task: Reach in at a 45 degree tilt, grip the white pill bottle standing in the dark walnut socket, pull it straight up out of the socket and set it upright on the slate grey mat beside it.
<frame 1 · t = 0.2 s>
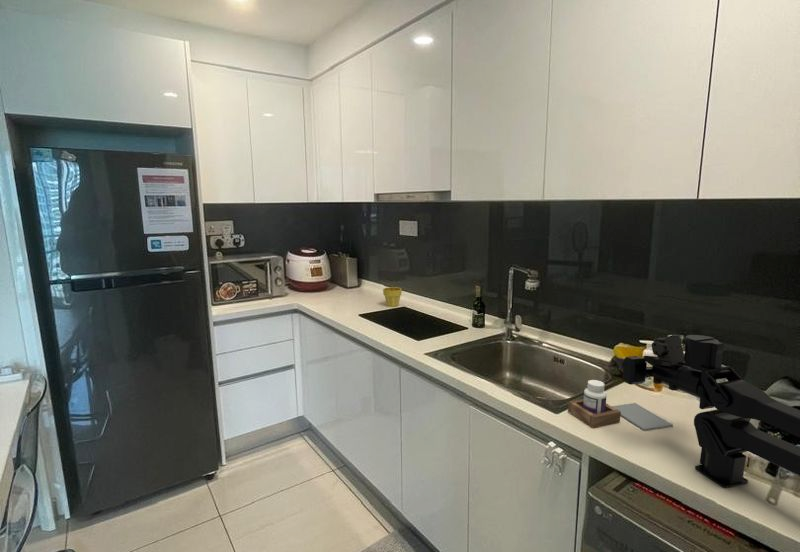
hand: (630, 358, 106), 16 cm above the worktop, tool horizontal, fingers open, 9 cm apart
pill bottle: (593, 417, 108), resting in walnut socket
plant pot: (392, 305, 229), on the worktop
walnut socket: (593, 416, 108), on the worktop
grey mat: (639, 416, 108), on the worktop
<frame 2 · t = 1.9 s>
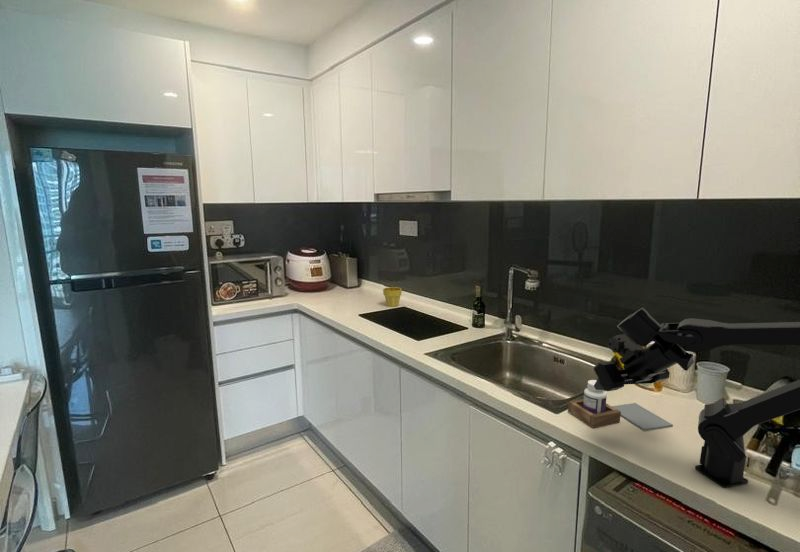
hand: (609, 385, 102), 11 cm above the worktop, tool tilted 45°, fingers open, 9 cm apart
nothing on the worktop moved.
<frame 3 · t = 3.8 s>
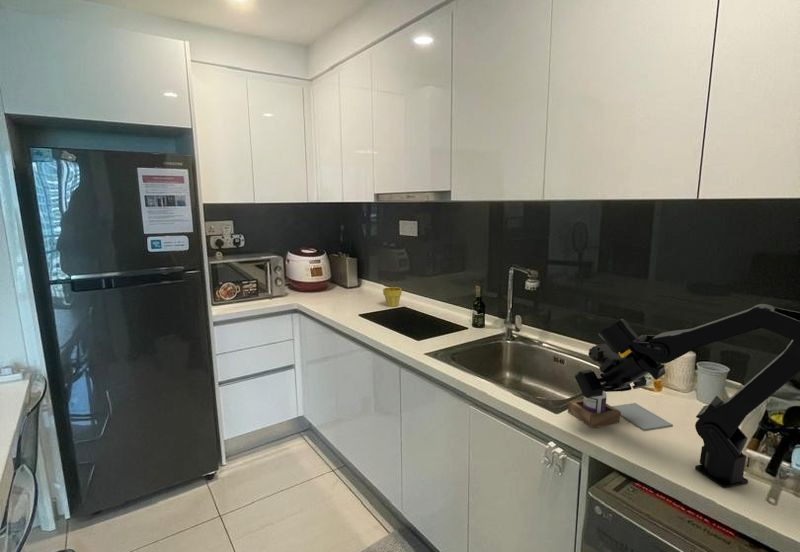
hand: (591, 391, 108), 7 cm above the worktop, tool tilted 45°, fingers closed on pill bottle, 5 cm apart
pill bottle: (593, 417, 108), resting in walnut socket, touching gripper
everything else where it was.
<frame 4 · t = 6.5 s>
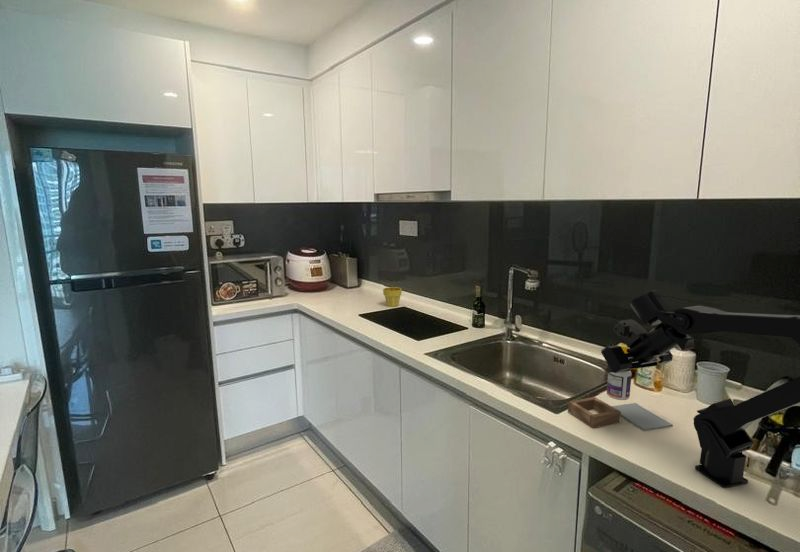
hand: (615, 369, 107), 13 cm above the worktop, tool tilted 45°, fingers closed on pill bottle, 5 cm apart
pill bottle: (617, 396, 107), point 6 cm above the worktop, touching gripper
everything else where it was.
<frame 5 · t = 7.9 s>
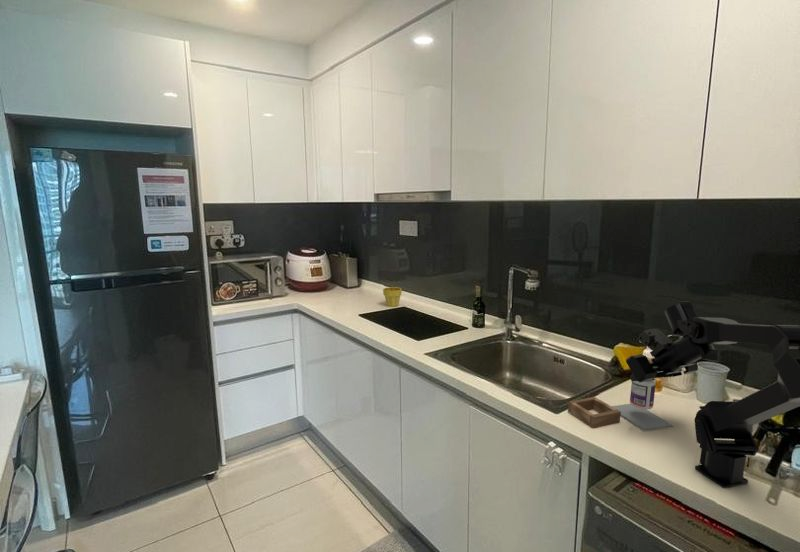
hand: (639, 377, 107), 11 cm above the worktop, tool tilted 45°, fingers closed on pill bottle, 5 cm apart
pill bottle: (641, 405, 107), point 3 cm above the worktop, touching gripper
everything else where it was.
when the fingers open (8 cm above the worktop, at t = 9.2 s): pill bottle stays where it is, resting on grey mat.
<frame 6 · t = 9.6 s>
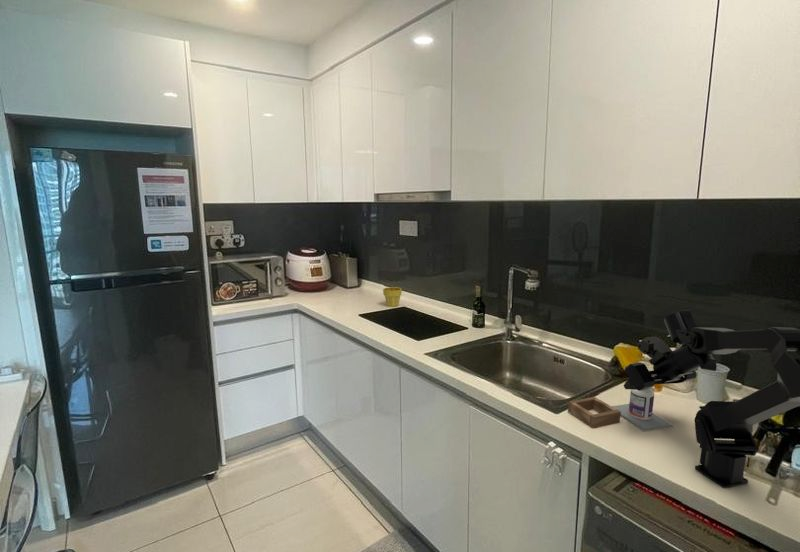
hand: (637, 384, 108), 9 cm above the worktop, tool tilted 45°, fingers open, 9 cm apart
pill bottle: (639, 416, 108), resting on grey mat
everything else where it was.
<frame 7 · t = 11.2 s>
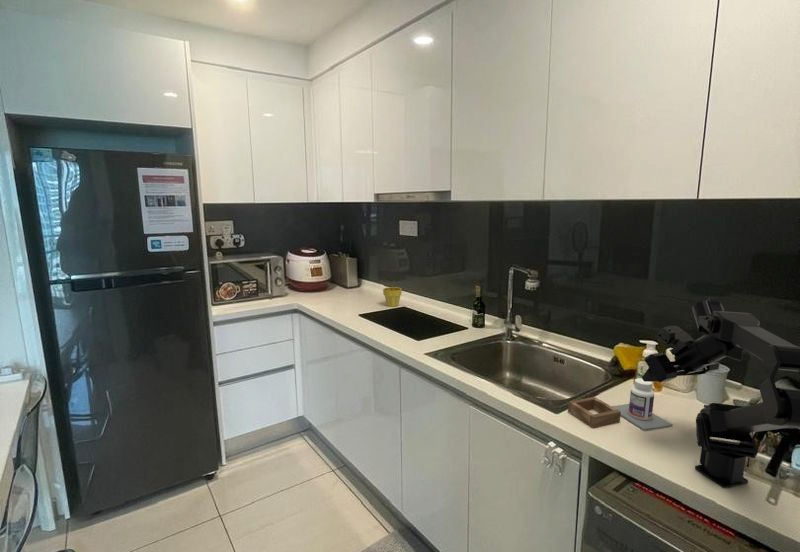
hand: (656, 376, 103), 13 cm above the worktop, tool tilted 45°, fingers open, 9 cm apart
nothing on the worktop moved.
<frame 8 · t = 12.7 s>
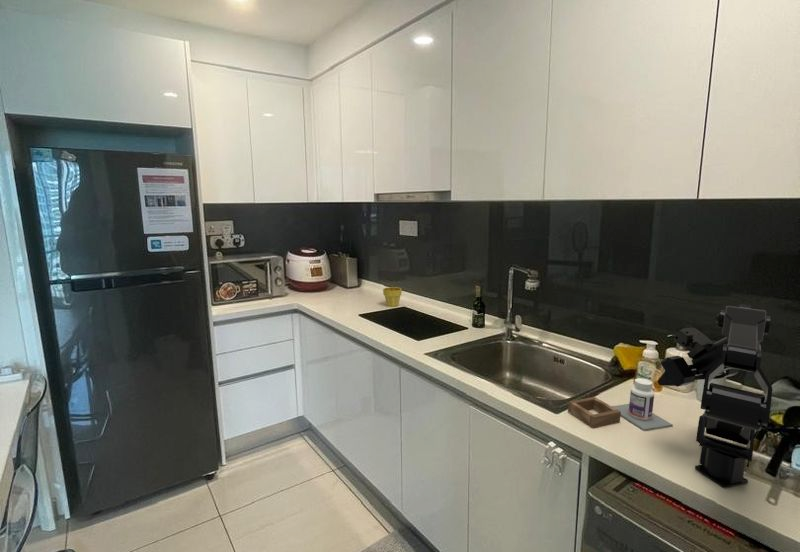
hand: (672, 380, 99), 14 cm above the worktop, tool tilted 45°, fingers open, 9 cm apart
nothing on the worktop moved.
at the end: pill bottle inside the target area (0.2 cm from its centre), resting on grey mat; pill bottle tilted 0°; the gripper is holding nothing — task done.
